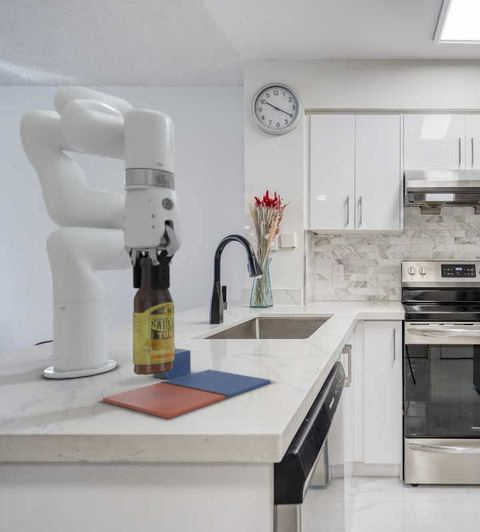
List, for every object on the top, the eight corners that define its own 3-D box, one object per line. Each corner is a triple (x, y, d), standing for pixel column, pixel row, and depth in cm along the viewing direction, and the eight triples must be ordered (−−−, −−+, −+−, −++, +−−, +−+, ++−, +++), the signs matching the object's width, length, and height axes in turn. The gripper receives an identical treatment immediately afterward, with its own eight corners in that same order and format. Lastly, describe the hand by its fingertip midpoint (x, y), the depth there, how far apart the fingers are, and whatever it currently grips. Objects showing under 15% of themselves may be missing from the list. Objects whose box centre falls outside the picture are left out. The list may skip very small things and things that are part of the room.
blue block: (153, 376, 87) (153, 352, 87) (175, 370, 91) (175, 348, 91) (168, 379, 84) (168, 355, 84) (190, 373, 89) (190, 350, 89)
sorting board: (102, 401, 71) (102, 397, 71) (208, 372, 90) (208, 368, 90) (168, 419, 63) (168, 414, 63) (270, 382, 82) (270, 379, 82)
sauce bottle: (156, 376, 69) (152, 257, 69) (124, 376, 70) (120, 258, 70) (184, 367, 75) (180, 257, 75) (154, 367, 76) (151, 259, 76)
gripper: (201, 182, 72) (202, 288, 72) (143, 191, 80) (144, 286, 80) (159, 175, 65) (160, 291, 66) (100, 184, 73) (101, 288, 73)
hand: (151, 287), depth 73 cm, fingers closed on sauce bottle, 4 cm apart
